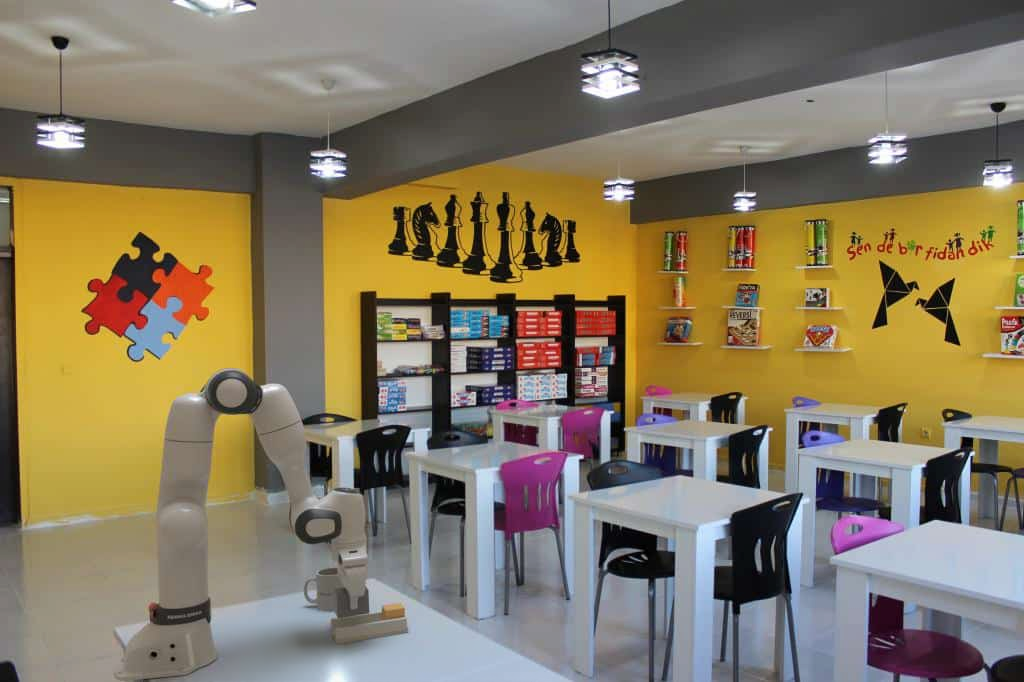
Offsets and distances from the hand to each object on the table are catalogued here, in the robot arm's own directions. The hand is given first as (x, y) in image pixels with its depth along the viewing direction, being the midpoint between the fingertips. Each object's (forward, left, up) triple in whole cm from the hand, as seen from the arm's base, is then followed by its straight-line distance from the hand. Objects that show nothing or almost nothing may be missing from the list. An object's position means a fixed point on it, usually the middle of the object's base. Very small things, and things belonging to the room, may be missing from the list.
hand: (351, 604), depth 208 cm
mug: (-3, +26, -8) cm, 27 cm away
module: (0, 0, -2) cm, 2 cm away
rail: (+4, 0, -8) cm, 9 cm away
